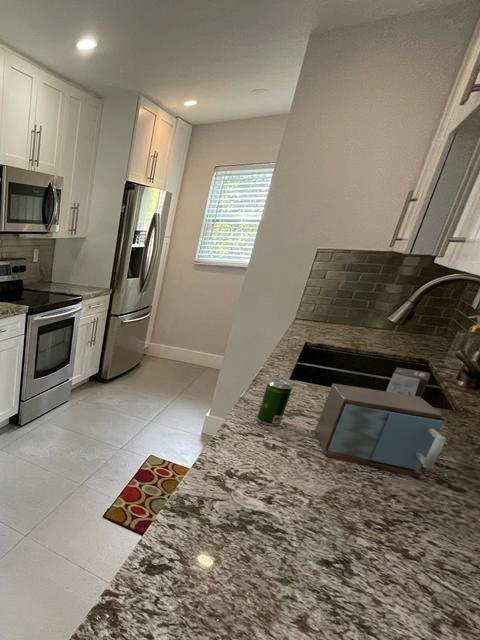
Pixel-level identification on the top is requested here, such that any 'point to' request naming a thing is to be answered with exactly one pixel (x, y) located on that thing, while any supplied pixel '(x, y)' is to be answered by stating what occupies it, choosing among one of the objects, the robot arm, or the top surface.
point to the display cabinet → (364, 423)
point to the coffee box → (408, 382)
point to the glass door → (409, 441)
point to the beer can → (274, 402)
